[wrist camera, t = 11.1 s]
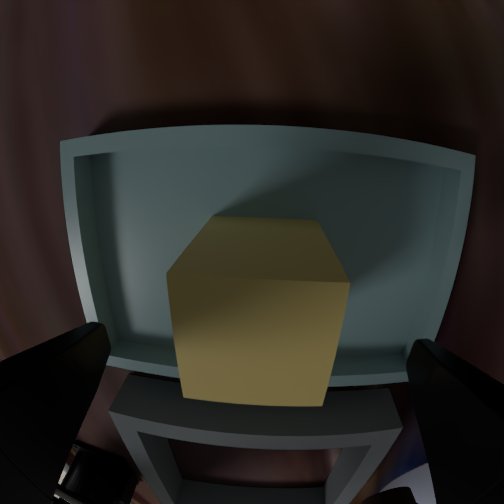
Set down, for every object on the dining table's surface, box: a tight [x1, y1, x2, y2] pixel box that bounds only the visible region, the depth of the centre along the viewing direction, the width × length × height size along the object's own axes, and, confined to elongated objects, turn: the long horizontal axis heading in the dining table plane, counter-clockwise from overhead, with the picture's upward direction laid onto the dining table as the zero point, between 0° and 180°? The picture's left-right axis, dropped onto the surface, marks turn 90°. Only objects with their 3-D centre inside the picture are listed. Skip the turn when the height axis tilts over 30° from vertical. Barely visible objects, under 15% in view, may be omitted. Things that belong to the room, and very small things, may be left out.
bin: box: [108, 374, 403, 504], centre depth 18 cm, size 17×17×4 cm
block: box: [166, 216, 350, 406], centre depth 11 cm, size 4×4×6 cm
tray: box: [60, 125, 476, 387], centre depth 13 cm, size 18×12×2 cm, turn 89°
